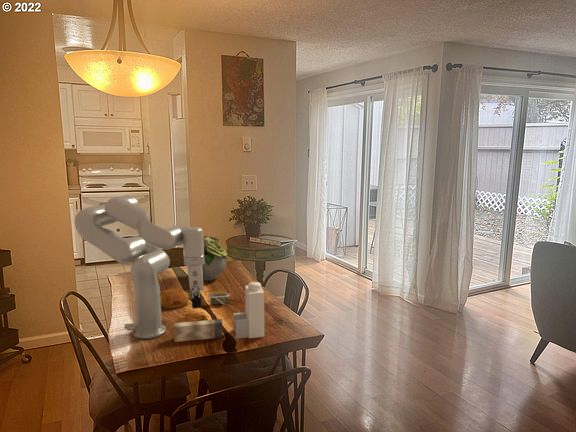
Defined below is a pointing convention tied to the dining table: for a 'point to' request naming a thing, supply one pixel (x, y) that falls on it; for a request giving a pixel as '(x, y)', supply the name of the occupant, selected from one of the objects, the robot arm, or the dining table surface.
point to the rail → (198, 330)
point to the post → (251, 313)
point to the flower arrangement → (213, 258)
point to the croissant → (173, 298)
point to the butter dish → (219, 297)
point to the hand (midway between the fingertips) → (196, 303)
